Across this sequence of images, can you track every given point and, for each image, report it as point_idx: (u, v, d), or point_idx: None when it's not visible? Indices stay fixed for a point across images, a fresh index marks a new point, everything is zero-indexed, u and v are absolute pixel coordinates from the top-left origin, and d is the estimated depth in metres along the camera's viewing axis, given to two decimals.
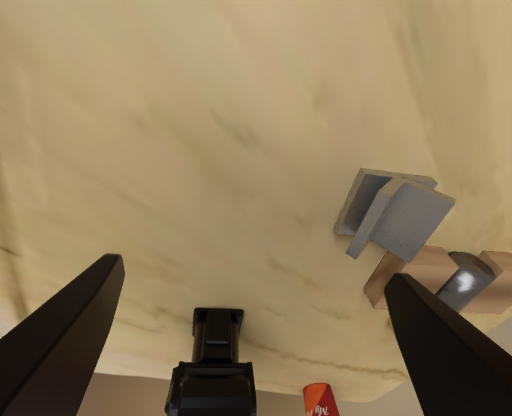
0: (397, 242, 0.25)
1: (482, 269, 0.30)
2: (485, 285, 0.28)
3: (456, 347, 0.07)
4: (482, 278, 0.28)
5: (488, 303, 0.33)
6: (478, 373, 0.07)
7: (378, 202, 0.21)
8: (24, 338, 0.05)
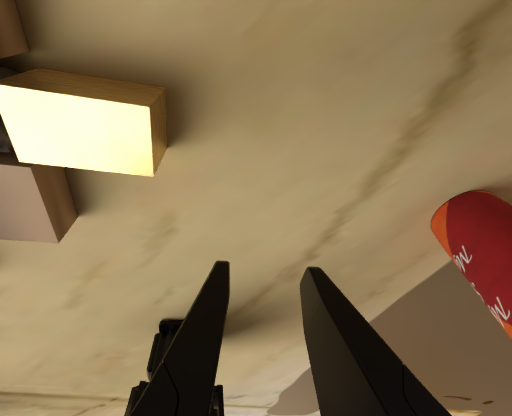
0: None
1: None
2: None
3: (344, 345, 0.07)
4: None
5: None
6: (357, 373, 0.06)
7: None
8: (192, 341, 0.06)
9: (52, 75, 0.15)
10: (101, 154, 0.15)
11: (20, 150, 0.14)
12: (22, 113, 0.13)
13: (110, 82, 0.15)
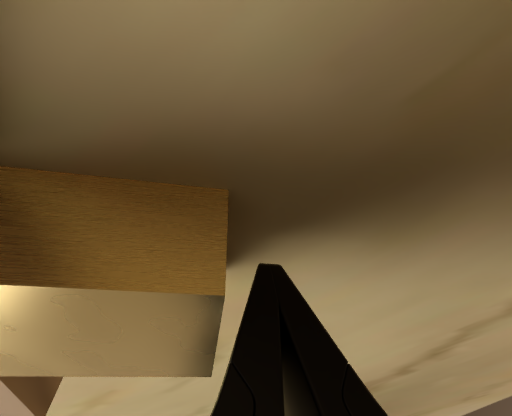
0: None
1: None
2: None
3: (293, 344, 0.06)
4: None
5: None
6: (302, 372, 0.06)
7: None
8: (254, 343, 0.06)
9: (3, 191, 0.07)
10: (108, 360, 0.07)
11: None
12: None
13: (126, 193, 0.08)
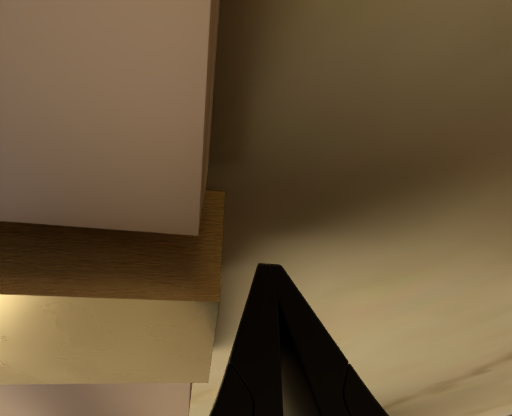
0: None
1: None
2: None
3: (293, 344, 0.06)
4: None
5: (57, 77, 0.04)
6: (303, 372, 0.06)
7: None
8: (253, 342, 0.06)
9: None
10: (103, 367, 0.07)
11: None
12: None
13: None
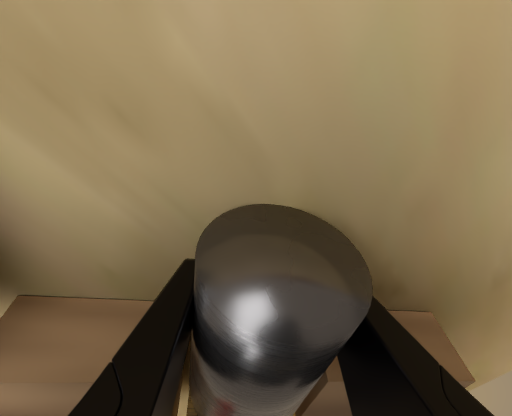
0: None
1: (324, 273, 0.07)
2: (307, 358, 0.05)
3: (378, 346, 0.07)
4: (287, 321, 0.05)
5: None
6: (395, 373, 0.06)
7: None
8: (146, 340, 0.05)
9: None
10: None
11: None
12: None
13: None
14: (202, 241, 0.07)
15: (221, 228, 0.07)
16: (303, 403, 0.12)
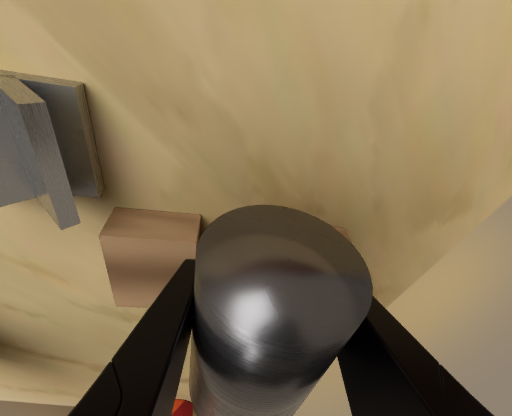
0: (41, 195, 0.15)
1: (324, 274, 0.07)
2: (307, 359, 0.05)
3: (378, 346, 0.07)
4: (287, 321, 0.05)
5: None
6: (394, 373, 0.06)
7: None
8: (146, 340, 0.05)
9: None
10: None
11: None
12: None
13: None
14: (202, 242, 0.07)
15: (221, 229, 0.07)
16: None
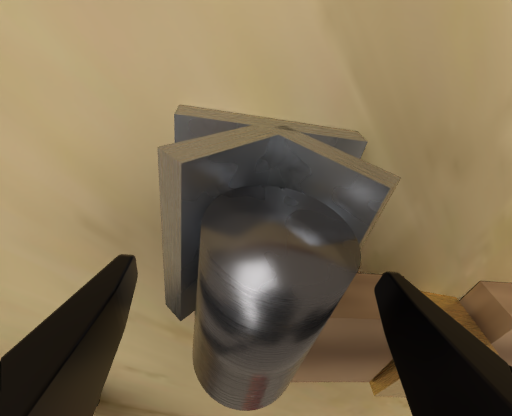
0: None
1: (317, 243, 0.07)
2: (301, 312, 0.06)
3: (443, 347, 0.07)
4: (283, 279, 0.06)
5: None
6: (464, 373, 0.06)
7: (168, 183, 0.07)
8: (46, 338, 0.05)
9: None
10: None
11: None
12: None
13: None
14: (207, 214, 0.07)
15: (224, 204, 0.08)
16: None
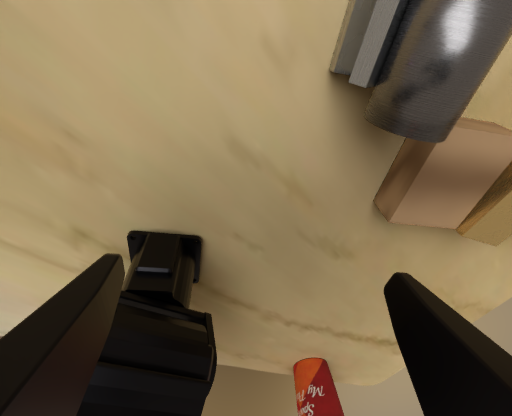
0: None
1: None
2: None
3: (456, 347, 0.07)
4: None
5: None
6: (477, 373, 0.07)
7: None
8: (24, 338, 0.05)
9: None
10: (498, 215, 0.21)
11: None
12: None
13: None
14: None
15: None
16: None
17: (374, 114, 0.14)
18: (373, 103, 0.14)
